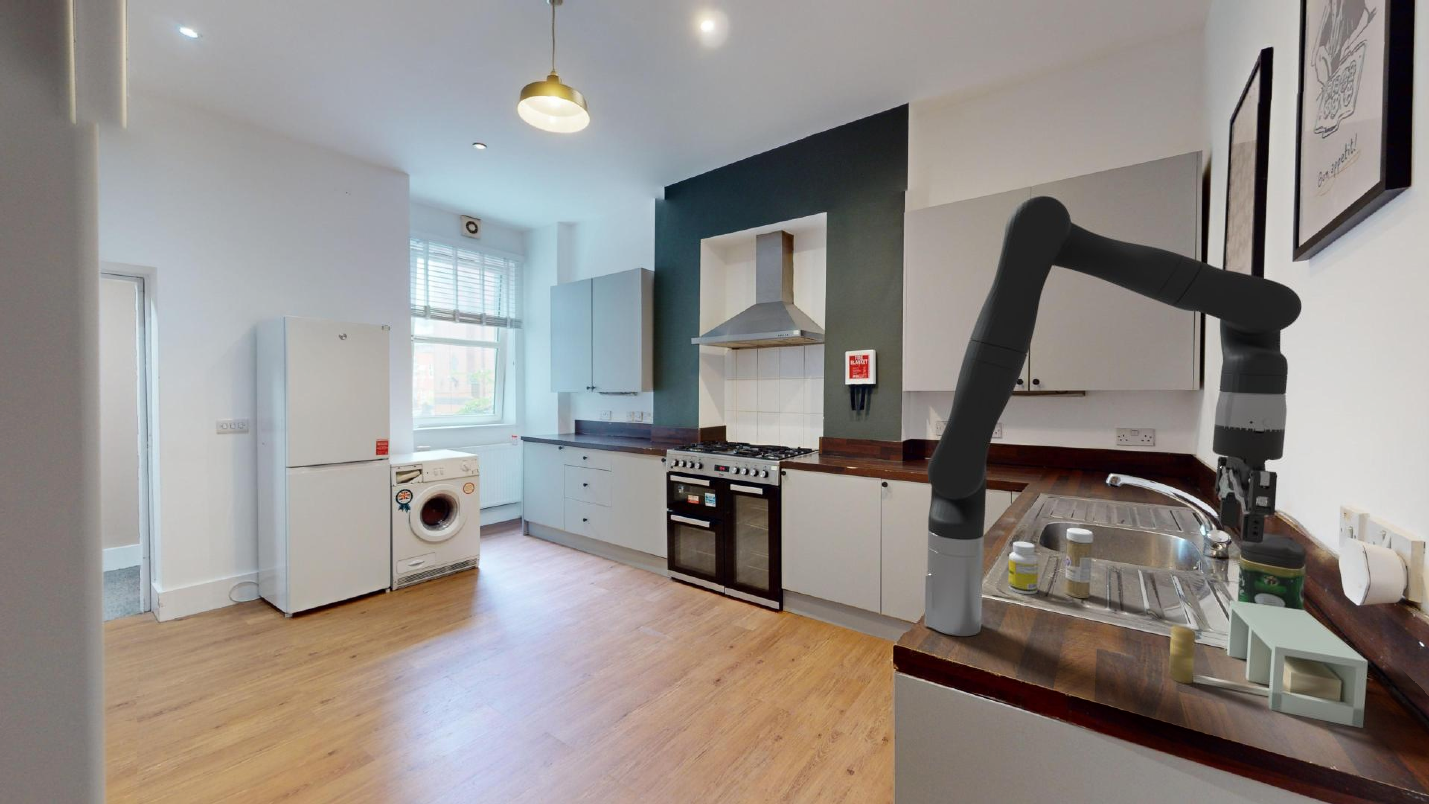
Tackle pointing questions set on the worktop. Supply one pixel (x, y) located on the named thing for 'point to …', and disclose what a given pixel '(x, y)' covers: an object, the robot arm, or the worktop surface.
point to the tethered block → (1295, 680)
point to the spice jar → (1078, 562)
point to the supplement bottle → (1023, 568)
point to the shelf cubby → (1298, 636)
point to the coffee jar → (1272, 572)
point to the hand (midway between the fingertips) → (1239, 533)
